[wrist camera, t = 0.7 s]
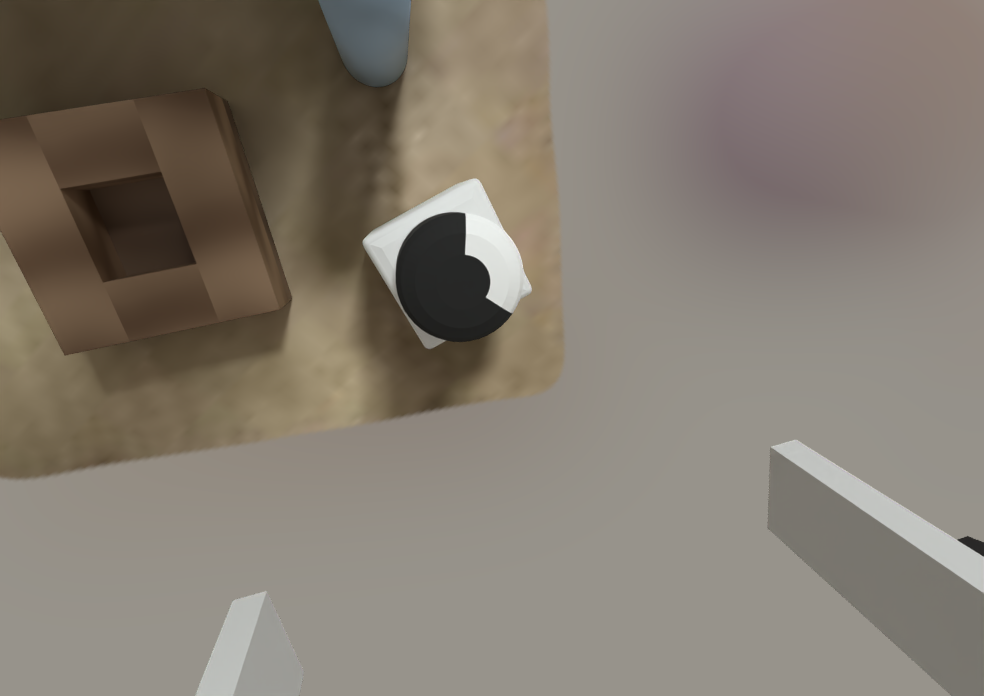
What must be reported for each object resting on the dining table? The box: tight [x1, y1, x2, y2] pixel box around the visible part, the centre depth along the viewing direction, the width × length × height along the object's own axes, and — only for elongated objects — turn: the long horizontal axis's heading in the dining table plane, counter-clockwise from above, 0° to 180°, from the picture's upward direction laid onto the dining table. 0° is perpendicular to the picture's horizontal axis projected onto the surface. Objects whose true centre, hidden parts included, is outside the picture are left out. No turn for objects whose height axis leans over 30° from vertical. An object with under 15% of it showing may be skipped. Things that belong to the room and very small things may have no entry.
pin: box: [318, 0, 411, 87], centre depth 23 cm, size 4×4×12 cm
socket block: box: [0, 88, 292, 355], centre depth 27 cm, size 12×12×4 cm
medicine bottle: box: [363, 179, 532, 349], centre depth 27 cm, size 7×7×12 cm
